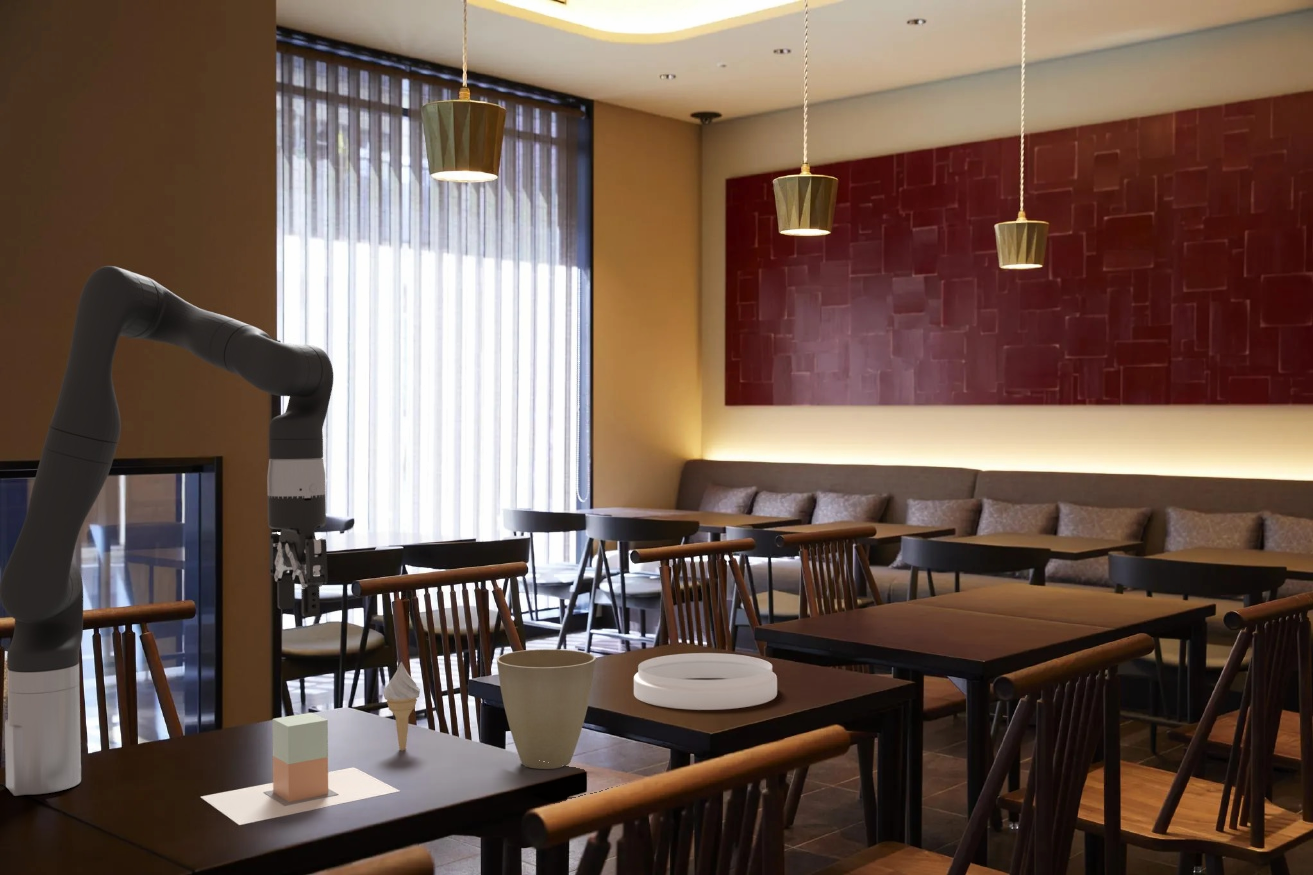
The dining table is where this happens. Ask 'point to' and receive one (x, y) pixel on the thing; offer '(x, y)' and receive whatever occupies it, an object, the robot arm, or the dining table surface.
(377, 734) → the dining table surface
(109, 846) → the dining table surface
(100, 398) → the robot arm
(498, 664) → the plant pot
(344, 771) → the baseplate
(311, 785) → the terracotta brick
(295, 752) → the sage brick
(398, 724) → the ice cream cone
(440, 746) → the dining table surface
